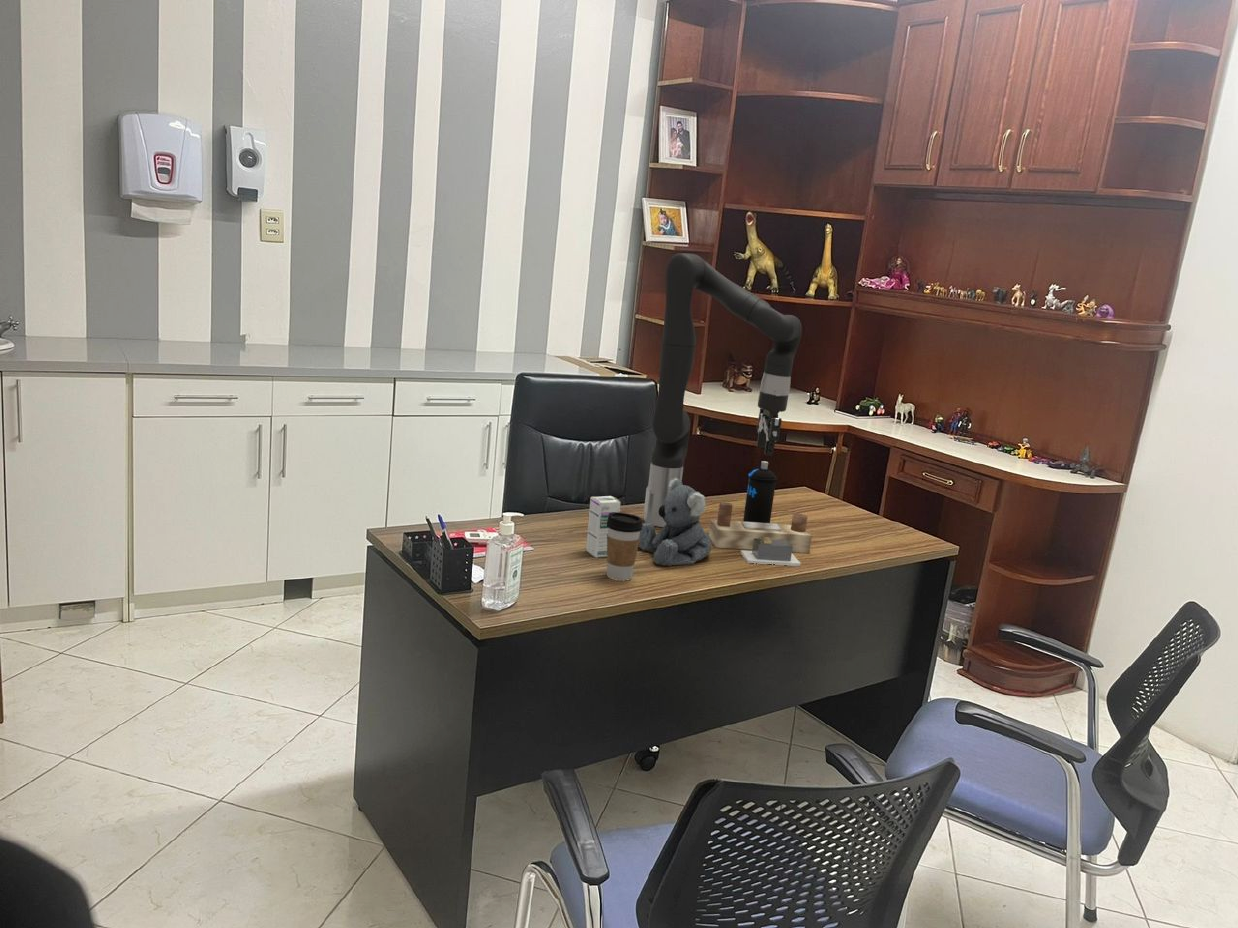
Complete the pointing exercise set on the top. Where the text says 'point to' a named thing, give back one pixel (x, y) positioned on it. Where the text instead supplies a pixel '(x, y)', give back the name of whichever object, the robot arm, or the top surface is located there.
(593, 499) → the syrup box
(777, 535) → the hand plane
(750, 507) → the aerosol can
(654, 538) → the koala plush
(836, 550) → the top surface
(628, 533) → the coffee cup
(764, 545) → the lever cap
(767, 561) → the rubber mat
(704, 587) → the top surface
